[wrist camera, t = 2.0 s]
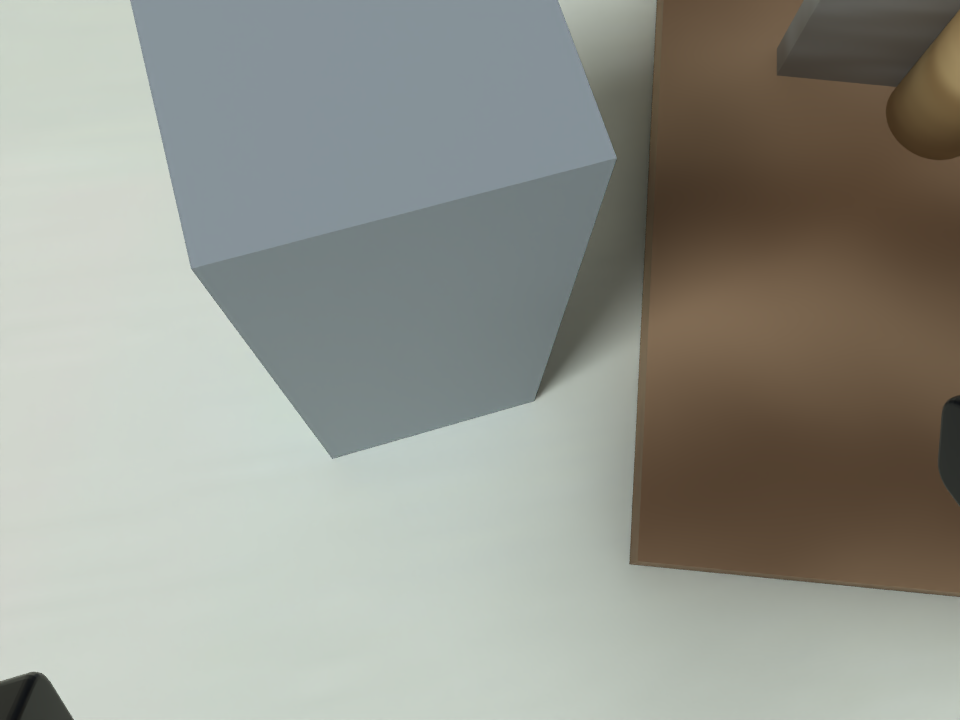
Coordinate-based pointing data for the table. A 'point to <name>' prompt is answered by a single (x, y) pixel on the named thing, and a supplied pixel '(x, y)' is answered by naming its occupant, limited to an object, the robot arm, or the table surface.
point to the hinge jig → (801, 293)
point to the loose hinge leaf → (381, 195)
